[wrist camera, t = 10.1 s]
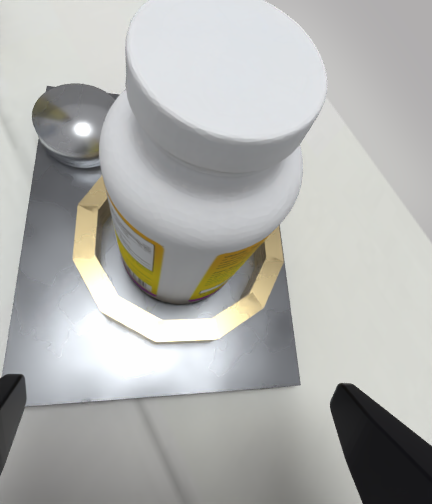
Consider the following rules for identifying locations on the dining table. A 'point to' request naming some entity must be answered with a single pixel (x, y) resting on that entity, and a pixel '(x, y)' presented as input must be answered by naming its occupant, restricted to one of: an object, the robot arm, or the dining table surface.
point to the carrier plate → (126, 290)
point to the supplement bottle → (206, 139)
